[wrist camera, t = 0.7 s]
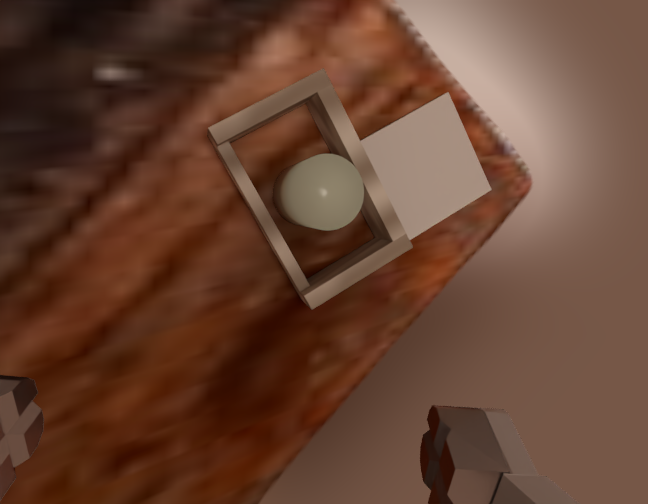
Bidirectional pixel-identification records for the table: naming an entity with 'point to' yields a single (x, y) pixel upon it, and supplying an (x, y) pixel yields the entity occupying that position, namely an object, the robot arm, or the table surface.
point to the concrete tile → (426, 165)
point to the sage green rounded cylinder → (319, 192)
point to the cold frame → (339, 142)
